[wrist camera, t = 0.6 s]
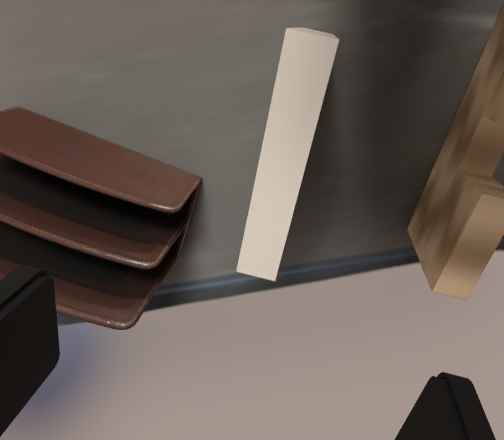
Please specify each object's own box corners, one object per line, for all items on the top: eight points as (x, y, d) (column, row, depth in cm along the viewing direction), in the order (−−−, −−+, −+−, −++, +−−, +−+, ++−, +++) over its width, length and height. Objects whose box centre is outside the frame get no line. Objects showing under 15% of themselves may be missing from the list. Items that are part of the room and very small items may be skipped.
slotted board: (508, -8, 28) (592, -24, 19) (543, -1, 28) (644, -14, 19) (406, 229, 37) (432, 291, 29) (432, 235, 37) (466, 300, 28)
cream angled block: (302, 27, 31) (286, 28, 18) (332, 33, 31) (339, 39, 18) (267, 185, 38) (236, 271, 25) (292, 191, 38) (274, 281, 24)
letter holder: (181, 254, 43) (123, 347, 31) (13, 190, 43) (-112, 256, 31) (204, 176, 39) (148, 247, 26) (17, 104, 39) (-129, 141, 26)
